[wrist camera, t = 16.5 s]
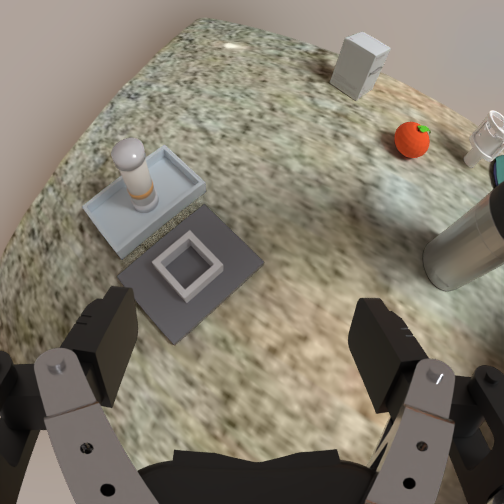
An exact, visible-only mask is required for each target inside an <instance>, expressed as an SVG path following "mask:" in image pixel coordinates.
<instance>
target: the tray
mask: <svg viewBox="0 0 504 504" xmlns="http://www.w3.org/2000/svg"><path fill="white" fill-rule="evenodd" d="M145 160H146V163H147V166H148V170H149V173H150V176H151V179H152V181H153V185H154V188H155V189H156V191H157V194H158V197H159V202H158V205H157V206H156V208H155V209H154V210H152V211H151V212H148V213H140V212H138V211H136V210H135V208H134V206H133V204H132V202H131V196H130V195H129V193H128V191H127V187H126V185H125V183H124V180H123V178H122V176H120V177H119V178H117V179H116V180H115V181H113V182H112V183H111V184H109V185H108V186H107V187H106V188H104V189H103V190H102V191H100V192H99V193H98V194H97V195H95V196H94V197H93V198H92V199H90V200H89V201H88V202H87V203H86V204H84V205H83V206H82V208H83V209H84V210H85V212H86V213H87V215H88V216H89V217H90V219H91V220H92V221H93V223H94V224H95V225H96V227H97V228H98V230H99V231H100V232H101V234H102V235H103V236H104V237H105V239H106V240H107V241H108V243H109V244H110V245H111V247H112V248H113V249H114V250H115V252H116V253H117V254H118V256H119V257H120V258H121V259H124V258H125V257H126V256H127V255H128V254H129V253H131V252H132V251H133V250H134V249H135V248H136V247H138V246H139V245H140V244H141V243H142V242H144V241H145V240H146V239H147V238H148V237H150V236H151V235H152V234H153V233H155V232H156V231H157V230H158V229H159V228H161V227H162V226H163V225H164V224H166V223H167V222H168V221H169V220H171V219H172V218H173V217H174V216H176V215H177V214H178V213H179V212H181V211H182V210H183V209H184V208H186V207H187V206H188V205H189V204H191V203H192V202H193V201H195V200H196V199H197V198H199V197H200V196H201V195H202V194H204V193H205V192H206V184H205V181H204V180H202V179H201V178H200V177H199V176H198V175H197V174H196V173H195V172H194V171H193V170H192V169H191V168H189V167H188V166H187V165H186V164H185V163H184V162H183V161H182V160H181V159H180V158H179V157H177V156H176V155H175V154H174V153H173V152H172V151H171V150H170V149H169V148H168V147H167V146H165V145H163V146H162V147H160V148H159V149H157V150H156V151H154V152H153V153H152V154H150V155H149V156H147V157H146V158H145Z"/></svg>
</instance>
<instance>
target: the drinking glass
mask: <svg viewBox="0 0 504 504" xmlns="http://www.w3.org/2000/svg"><path fill="white" fill-rule="evenodd" d="M492 116H495V117H497V118H498V119H499V120H501V121H502V122H503V123H504V116H502V115H501V114H500V113H498V112H496V111H494V110H492V111H490V112H489V114H488V115H487V117H486V118H485V119H484V121H483V122H482V123H481V124H480V125H479V127H478V128H477V129H476V130H475V132H473V133H472V134H471V136H470V143H471V145H472V147H473V148H472V149H471V150H470V151H469V152H468V153H467V154H466V155H465V157H464V162H465V163H466V165H467V166H469V167H470V168H473V167H474V166H475V165H476V164H477V163H478V162H479V161H480V160H481V159H482V158H483V159H484V160H486V161H489V162H490V161H493V160H494V159H495V158H496V156H497V155H498V154H499V153H500V152H501V151H502V150H503V149H504V125H503V126H502V127H498V125H497V124H495V122H494V120H493V118H492ZM491 127H492V128H493V129H494V130H495V132H496V133H495V134H494V136H493V135H492V134H491V133H490V131H489V129H490V128H491Z"/></svg>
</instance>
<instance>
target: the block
mask: <svg viewBox="0 0 504 504" xmlns="http://www.w3.org/2000/svg"><path fill="white" fill-rule="evenodd" d="M263 264H264V261H263V260H262V259H261V258H260V257H259V256H258V255H257V254H256V253H254V252H253V251H252V250H251V249H250V248H249V247H248V246H247V245H246V244H245V243H244V242H243V241H242V240H241V239H240V238H239V237H238V236H237V235H236V234H235V233H234V232H233V231H232V230H231V229H230V228H229V227H228V226H227V225H226V224H225V223H223V222H222V221H221V220H220V219H219V218H218V217H217V216H216V215H215V214H214V213H213V212H212V211H211V210H210V209H209V208H208V207H207V206H206V205H205V204H204V205H202V206H201V207H200V208H199V209H197V210H196V211H195V212H194V213H192V214H191V215H190V216H188V217H187V218H186V219H185V220H184V221H182V222H181V223H180V224H179V225H177V226H176V227H175V228H174V229H172V230H171V231H170V232H169V233H168V234H166V235H165V236H164V237H163V238H161V239H160V240H159V241H158V242H157V243H155V244H154V245H153V246H152V247H151V248H149V249H148V250H147V251H146V252H145V253H144V254H142V255H141V256H140V257H139V258H138V259H136V260H135V261H134V262H133V263H132V264H131V265H129V266H128V267H127V268H126V269H125V270H124V271H123V272H121V273H120V274H119V275H118V276H117V278H118V279H119V280H120V281H121V283H122V284H123V285H124V286H125V287H130V288H132V289H133V292H134V299H135V300H136V301H137V303H138V304H139V305H140V306H141V307H142V309H143V310H144V311H145V312H146V313H147V315H148V316H149V317H150V318H151V319H152V320H153V322H154V323H155V324H156V325H157V326H158V327H159V329H160V330H161V331H162V332H163V333H164V334H165V335H166V337H167V338H168V339H169V340H170V341H171V342H172V343H173V344H174V345H176V344H177V343H178V342H180V341H181V340H182V339H183V338H184V337H185V336H186V335H187V334H188V333H190V332H191V331H192V330H193V329H194V328H195V327H196V326H197V325H198V324H199V323H201V322H202V321H203V320H204V319H205V318H206V317H207V316H208V315H209V314H210V313H212V312H213V311H214V310H215V309H216V308H217V307H218V306H219V305H220V304H221V303H222V302H224V301H225V300H226V299H227V298H228V297H229V296H230V295H231V294H232V293H233V292H234V291H236V290H237V289H238V288H239V287H240V286H241V285H242V284H243V283H244V282H245V281H246V280H248V279H249V278H250V277H251V276H252V275H253V274H254V273H255V272H256V271H257V270H258V269H259V268H261V267H262V266H263Z"/></svg>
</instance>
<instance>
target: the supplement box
mask: <svg viewBox="0 0 504 504" xmlns="http://www.w3.org/2000/svg"><path fill="white" fill-rule="evenodd" d="M390 49H391V48H390V47H388V46H386V45H385V44H383V43H382V42H380V41H378V40H377V39H375V38H373V37H371V36H370V35H368V34H366V33H364V32H359V33H356V34H354V35H351V36H349V37H346V38H345V39H344V42H343V46H342V48H341V51H340V54H339V57H338V60H337V63H336V66H335V69H334V71H333V74H332V77H331V80H330V83H331V84H332V85H334V86H335V87H336V88H338V89H339V90H341V91H342V92H344V93H345V94H347V95H348V96H350V97H351V98H352V99H354V100H355V101H357V100H358V99H359V98H360V97H362V96H363V95H365V94H366V93H368V92H369V91H371V90H372V88H373V86H374V84H375V82H376V80H377V78H378V76H379V74H380V72H381V69H382V67H383V65H384V63H385V61H386V58H387V56H388V54H389V52H390Z"/></svg>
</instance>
